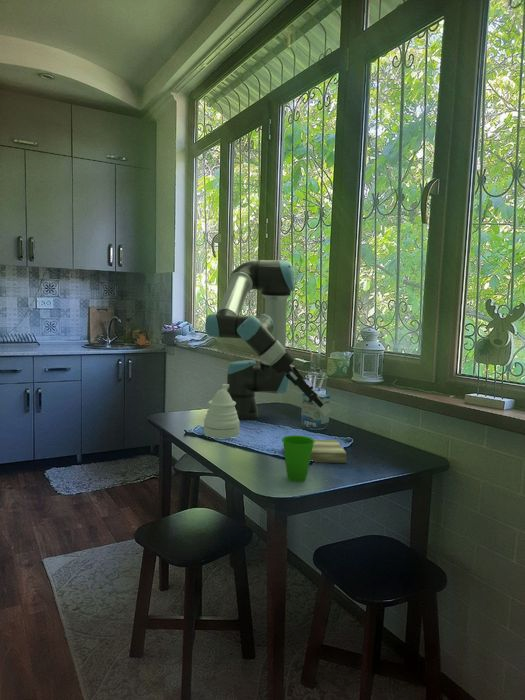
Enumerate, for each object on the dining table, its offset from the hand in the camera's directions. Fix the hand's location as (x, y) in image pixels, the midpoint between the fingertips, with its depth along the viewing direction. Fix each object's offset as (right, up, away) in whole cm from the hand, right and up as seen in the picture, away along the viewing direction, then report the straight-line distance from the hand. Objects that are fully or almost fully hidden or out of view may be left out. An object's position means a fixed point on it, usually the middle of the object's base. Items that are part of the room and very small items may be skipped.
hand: (325, 409), depth 155 cm
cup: (-11, -17, -20) cm, 28 cm away
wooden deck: (-4, -15, +1) cm, 15 cm away
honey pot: (-35, -12, +22) cm, 43 cm away
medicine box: (-3, -4, 0) cm, 5 cm away
